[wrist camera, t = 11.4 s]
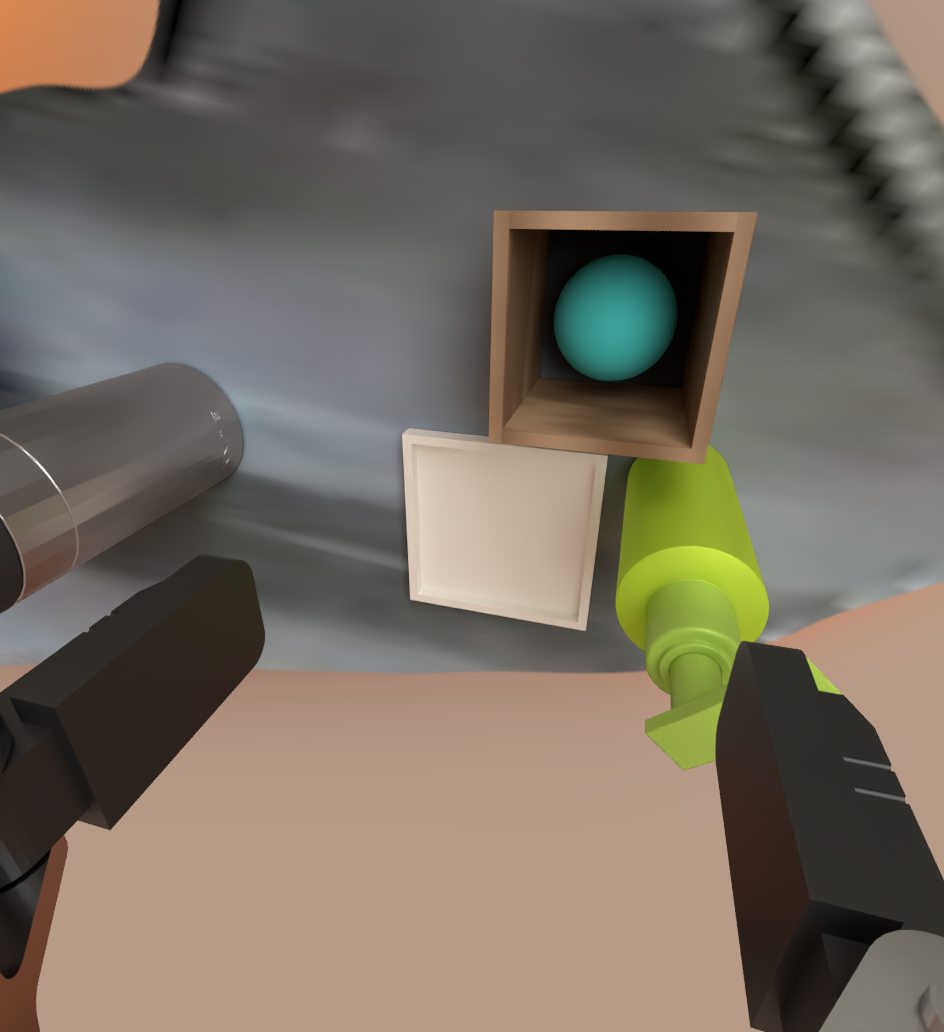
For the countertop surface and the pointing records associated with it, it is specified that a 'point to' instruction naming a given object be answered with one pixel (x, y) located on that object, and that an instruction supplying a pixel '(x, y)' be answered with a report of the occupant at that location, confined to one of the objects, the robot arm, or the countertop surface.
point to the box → (597, 405)
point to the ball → (615, 317)
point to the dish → (502, 526)
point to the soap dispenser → (689, 594)
